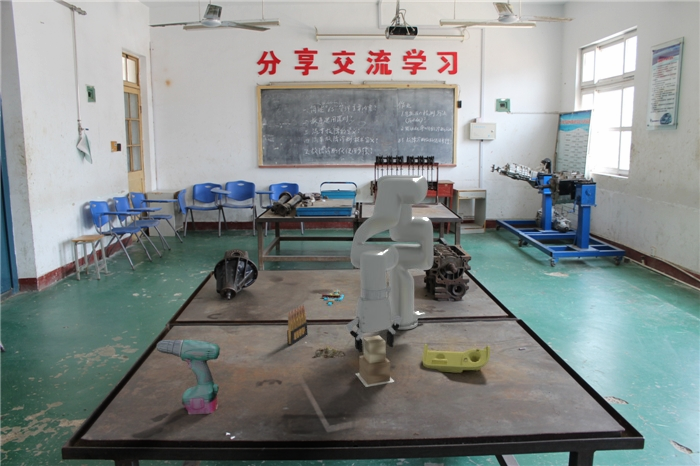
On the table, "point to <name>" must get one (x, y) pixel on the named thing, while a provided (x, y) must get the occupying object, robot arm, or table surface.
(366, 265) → the robot arm
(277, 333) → the table surface
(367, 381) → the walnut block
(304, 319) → the ammunition clip
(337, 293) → the gear mechanism
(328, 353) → the mineral rock
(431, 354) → the plastic component
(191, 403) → the power drill
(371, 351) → the maple block
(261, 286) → the table surface
